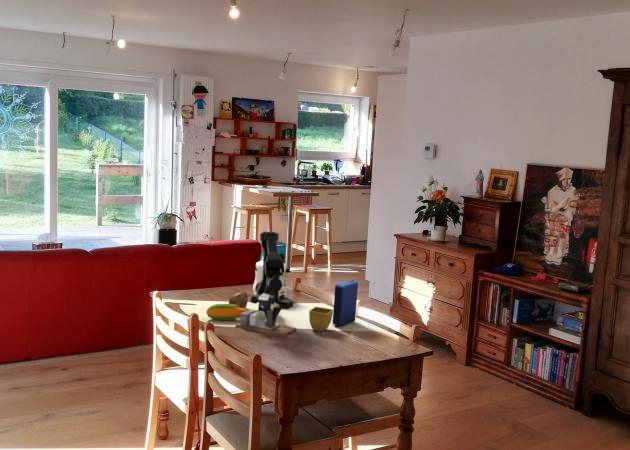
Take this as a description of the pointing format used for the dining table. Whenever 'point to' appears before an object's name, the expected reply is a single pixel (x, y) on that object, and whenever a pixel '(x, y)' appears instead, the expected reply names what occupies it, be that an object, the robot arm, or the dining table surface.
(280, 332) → the press base
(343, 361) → the dining table surface
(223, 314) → the corn
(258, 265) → the milk container
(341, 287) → the book
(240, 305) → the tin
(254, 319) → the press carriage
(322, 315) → the flower pot
